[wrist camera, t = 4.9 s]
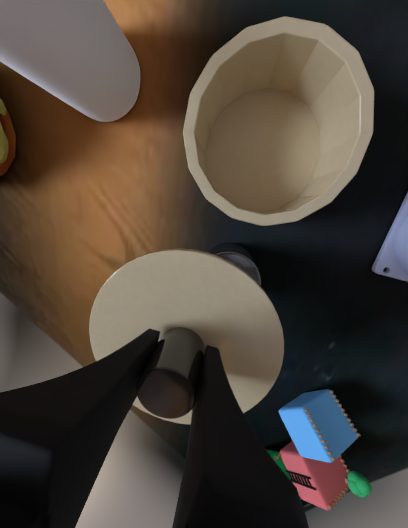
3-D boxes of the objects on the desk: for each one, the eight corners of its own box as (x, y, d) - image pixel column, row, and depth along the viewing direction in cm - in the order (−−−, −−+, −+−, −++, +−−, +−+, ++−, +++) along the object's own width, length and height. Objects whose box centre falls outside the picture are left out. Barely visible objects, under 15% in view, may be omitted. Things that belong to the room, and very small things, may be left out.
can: (133, 134, 19) (-21, 20, 7) (64, 110, 19) (-190, -37, 8) (151, 46, 17) (-12, -286, 6) (75, 21, 17) (-233, -350, 6)
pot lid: (309, 276, 11) (353, 316, 7) (247, 429, 14) (254, 518, 10) (111, 223, 12) (48, 232, 8) (91, 381, 15) (38, 447, 11)
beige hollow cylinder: (348, 98, 16) (411, 39, 11) (300, 232, 19) (329, 242, 14) (215, 69, 17) (207, -1, 11) (187, 203, 20) (169, 202, 14)
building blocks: (268, 397, 30) (332, 386, 20) (304, 471, 26) (403, 499, 17) (219, 428, 26) (269, 432, 17) (253, 517, 23) (341, 586, 13)
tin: (261, 249, 20) (269, 261, 16) (246, 296, 21) (250, 319, 17) (210, 236, 20) (204, 244, 16) (198, 283, 22) (190, 303, 17)
